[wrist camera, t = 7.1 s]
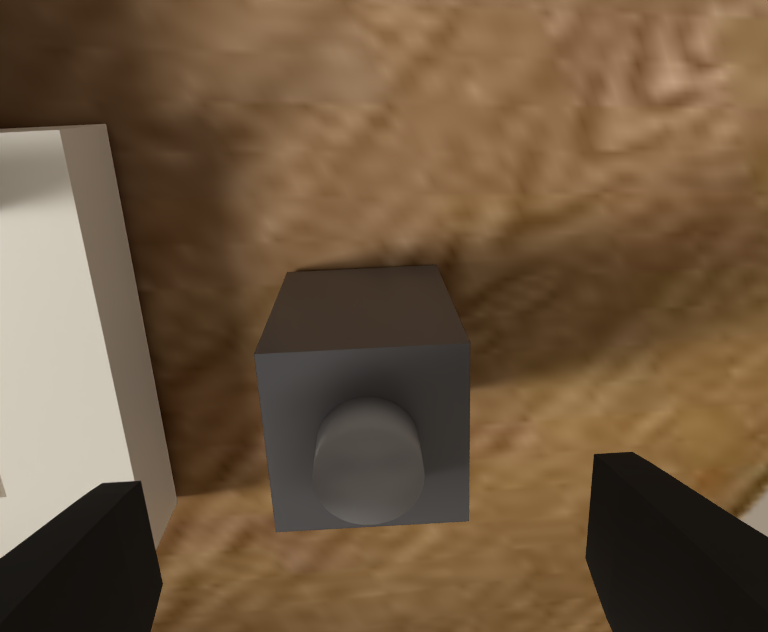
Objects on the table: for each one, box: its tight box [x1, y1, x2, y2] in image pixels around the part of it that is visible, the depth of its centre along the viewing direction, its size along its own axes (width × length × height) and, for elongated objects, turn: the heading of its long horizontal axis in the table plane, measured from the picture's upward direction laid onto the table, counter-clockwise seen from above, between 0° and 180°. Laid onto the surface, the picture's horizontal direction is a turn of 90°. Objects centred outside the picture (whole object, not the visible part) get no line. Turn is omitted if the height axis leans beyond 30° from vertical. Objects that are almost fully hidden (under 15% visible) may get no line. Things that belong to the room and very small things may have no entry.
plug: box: [254, 265, 470, 532], centre depth 14 cm, size 4×4×7 cm
